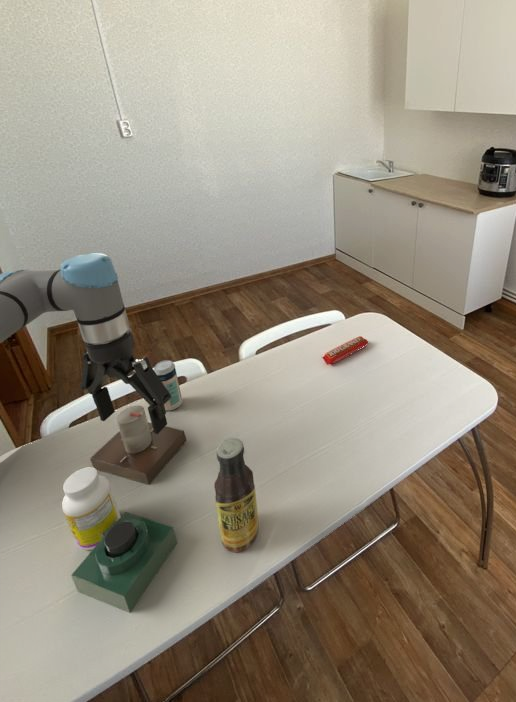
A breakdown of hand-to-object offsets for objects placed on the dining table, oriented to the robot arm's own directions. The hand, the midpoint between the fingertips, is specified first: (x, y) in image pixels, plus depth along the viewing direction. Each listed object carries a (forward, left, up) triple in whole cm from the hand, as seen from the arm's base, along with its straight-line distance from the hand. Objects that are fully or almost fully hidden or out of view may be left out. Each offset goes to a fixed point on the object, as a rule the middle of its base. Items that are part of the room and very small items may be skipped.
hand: (134, 422), depth 79 cm
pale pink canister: (-4, +14, -9) cm, 17 cm away
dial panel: (0, 0, -9) cm, 9 cm away
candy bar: (+32, +45, -9) cm, 56 cm away
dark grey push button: (+15, -18, -3) cm, 24 cm away
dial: (0, 0, -6) cm, 6 cm away
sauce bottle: (+30, -9, -9) cm, 32 cm away
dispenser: (+15, -18, -9) cm, 25 cm away
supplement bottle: (+5, -15, -9) cm, 18 cm away
